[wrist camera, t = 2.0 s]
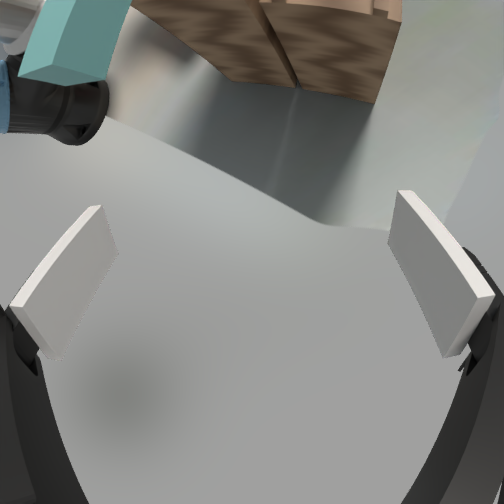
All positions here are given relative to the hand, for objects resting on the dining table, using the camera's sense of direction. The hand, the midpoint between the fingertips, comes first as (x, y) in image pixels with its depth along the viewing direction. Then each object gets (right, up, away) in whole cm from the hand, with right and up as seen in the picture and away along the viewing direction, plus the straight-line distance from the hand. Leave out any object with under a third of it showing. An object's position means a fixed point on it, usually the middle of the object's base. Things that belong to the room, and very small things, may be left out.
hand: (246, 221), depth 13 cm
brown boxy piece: (+8, +28, +22) cm, 36 cm away
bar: (-6, +19, -4) cm, 20 cm away
